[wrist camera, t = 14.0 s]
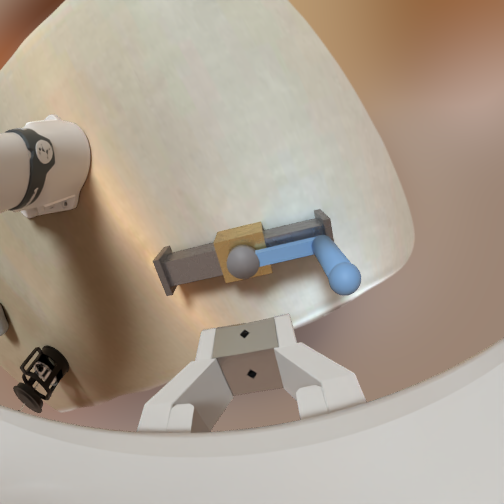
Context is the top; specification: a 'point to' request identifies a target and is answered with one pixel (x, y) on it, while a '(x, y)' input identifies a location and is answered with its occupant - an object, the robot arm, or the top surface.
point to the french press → (41, 377)
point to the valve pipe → (216, 254)
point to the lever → (326, 251)
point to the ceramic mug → (3, 322)
